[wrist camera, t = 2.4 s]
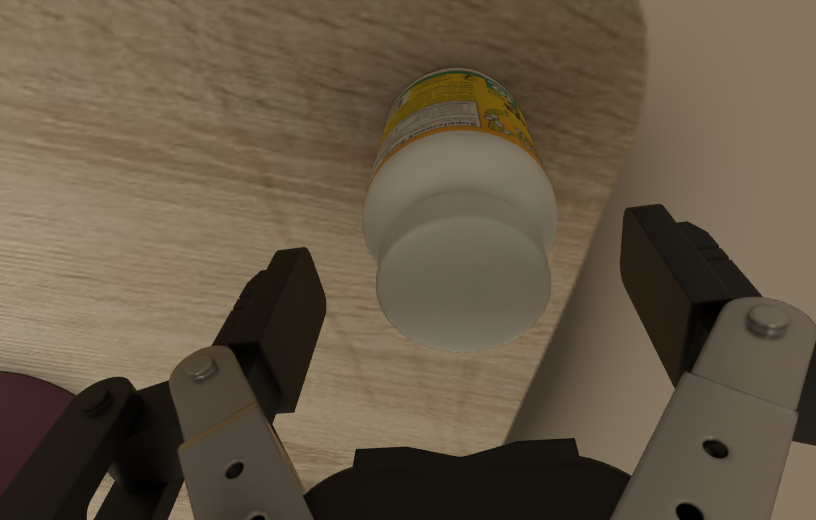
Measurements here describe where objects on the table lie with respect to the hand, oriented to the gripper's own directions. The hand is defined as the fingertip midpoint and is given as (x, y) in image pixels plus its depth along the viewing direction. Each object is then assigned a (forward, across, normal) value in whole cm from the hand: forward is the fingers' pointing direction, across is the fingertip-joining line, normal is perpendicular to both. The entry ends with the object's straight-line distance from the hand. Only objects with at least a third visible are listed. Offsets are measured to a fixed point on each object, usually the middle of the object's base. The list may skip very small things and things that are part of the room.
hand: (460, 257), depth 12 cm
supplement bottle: (+8, 0, 0) cm, 8 cm away
